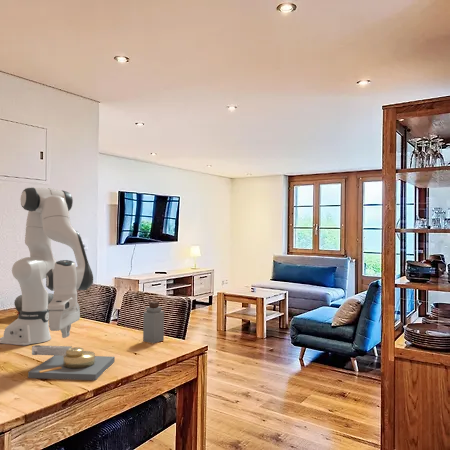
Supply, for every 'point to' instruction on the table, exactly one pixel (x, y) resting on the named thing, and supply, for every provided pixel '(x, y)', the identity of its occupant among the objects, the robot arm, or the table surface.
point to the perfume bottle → (153, 323)
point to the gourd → (19, 301)
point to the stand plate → (70, 369)
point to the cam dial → (67, 355)
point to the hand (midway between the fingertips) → (65, 336)
